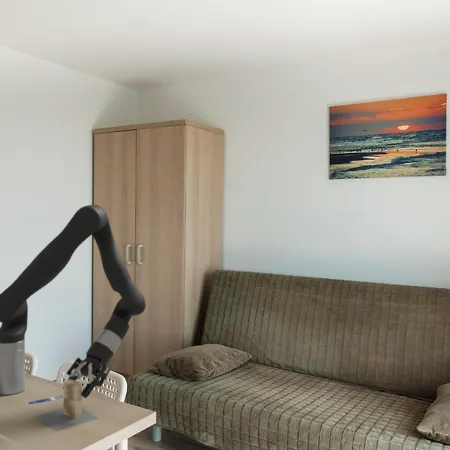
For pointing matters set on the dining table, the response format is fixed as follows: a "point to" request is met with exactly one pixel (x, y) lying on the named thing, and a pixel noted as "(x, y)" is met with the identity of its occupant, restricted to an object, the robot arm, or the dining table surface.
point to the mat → (64, 419)
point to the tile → (72, 398)
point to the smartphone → (47, 399)
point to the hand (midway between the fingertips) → (74, 393)
